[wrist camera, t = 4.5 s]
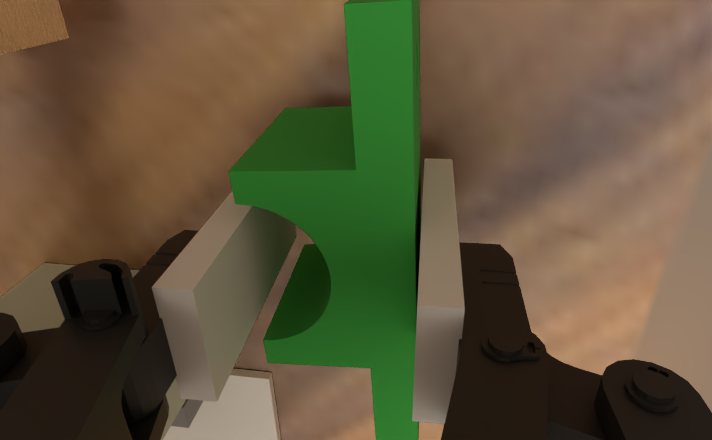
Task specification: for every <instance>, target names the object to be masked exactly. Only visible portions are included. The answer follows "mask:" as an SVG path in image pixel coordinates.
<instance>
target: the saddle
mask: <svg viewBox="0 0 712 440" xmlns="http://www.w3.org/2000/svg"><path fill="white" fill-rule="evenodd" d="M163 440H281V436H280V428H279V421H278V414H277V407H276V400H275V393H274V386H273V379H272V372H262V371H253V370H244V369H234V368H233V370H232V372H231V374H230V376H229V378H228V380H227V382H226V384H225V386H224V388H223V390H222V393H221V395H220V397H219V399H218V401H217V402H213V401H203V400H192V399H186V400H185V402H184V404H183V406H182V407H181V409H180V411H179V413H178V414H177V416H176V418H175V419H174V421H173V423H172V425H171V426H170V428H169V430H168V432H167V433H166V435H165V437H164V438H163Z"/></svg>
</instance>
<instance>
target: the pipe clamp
mask: <svg viewBox="0 0 712 440" xmlns="http://www.w3.org/2000/svg"><path fill="white" fill-rule="evenodd" d="M344 12H345V26H346V40H347V53H348V67H349V80H350V94H351V106H340V107H306V108H285V109H284V111H283V112H282V113H281V114H280V115H279V116H278V117H277V118H276V119H275V121H274V122H273V123H272V124H271V125H270V126H269V127H268V128H267V129H266V131H265V132H264V133H263V134H262V135H261V136H260V137H259V138H258V139H257V140H256V142H255V143H254V144H253V145H252V146H251V147H250V148H249V149H248V150H247V152H246V153H245V154H244V155H243V156H242V157H241V158H240V159H239V160H238V162H237V163H236V164H235V165H234V166H233V167H232V168H231V169H230V170H229V176H230V181H231V186H232V191H233V196H234V201H235V204H237V205H249V206H255V207H259V208H263V209H266V210H269V211H272V212H274V213H276V214H278V215H281V216H283V217H284V218H286V219H288V220H290V221H291V222H293V223H294V224H295V225H297V226H298V227H299V228H301V229H302V230H303V231H304V232H305V233H306V234H307V235H308V236H309V237H310V238H311V239H312V240H313V241H314V243H315V244H308V245H304V247H303V249H302V252H301V254H300V256H299V258H298V261H297V263H296V265H295V268H294V270H293V272H292V275H291V277H290V279H289V282H288V284H287V286H286V289H285V291H284V293H283V296H282V298H281V300H280V302H279V305H278V307H277V309H276V312H275V314H274V316H273V319H272V321H271V323H270V326H269V328H268V330H267V333H266V335H265V337H264V339H263V342H264V347H265V352H266V357H267V361H268V363H280V364H300V365H319V366H338V367H358V368H371V379H372V393H373V407H374V420H375V434H376V440H418V437H419V422H417V421H412V413H413V391H414V368H415V346H416V324H417V302H418V282H419V261H420V241H421V159H420V20H419V0H349V1H348V2H346V3H345V4H344Z"/></svg>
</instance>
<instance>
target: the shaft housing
mask: <svg viewBox="0 0 712 440" xmlns="http://www.w3.org/2000/svg"><path fill="white" fill-rule="evenodd" d="M73 266H76V265H66V264H53V263H43V264H42V265H40V266H39V267H38V268H37V269H35V270H34V271H33V272H31V273H30V274H29V275H28V276H26V277H25V278H24V279H22V280H21V281H20V282H19V283H17V284H16V285H15V286H13V287H12V288H11V289H10V290H8V291H7V292H6V293H5V294H3V295H2V296H1V297H0V313H6V314H9V315H13V316H14V318H15V319H16V321H17V323H18V325H19V327H20V330H21V332H22V333H23V332H30V331H37V330H44V329H51V328H58V327H60V325H61V324H62V323H63V321H64V320H65V319H64V316H63V313H62V311H61V308H60V305H59V303H58V300H57V297H56V295H55V292H54V290H53V287H52V284H51V281H52V280H53V279H54V278H55V277H57V276H58V275H59V274H60V273H62V272H64V271H66V270H67V269H69V268H71V267H73ZM139 271H140V270H131V274H132V277H134V276H135V275H136V274H137V273H138V272H139ZM166 397H167V401H168V404H169V415H168V419H167V422H166V425H165V428H164V431H163V434H162V437H161V440H163V438H164V437H165V435H166V433H167V432H168V430H169V428H170V426H171V425H172V423H173V421H174V419H175V418H176V416H177V414H178V413H179V411H180V409H181V407H182V406H183V404H184V402H185V400H186V399H182V398H181V397H180V393H179V389H178V385H177V381H176V378H175V379H174V381H173V383H172V384H171V386H170V388H169V389H168V391H167V393H166Z"/></svg>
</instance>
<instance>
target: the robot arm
mask: <svg viewBox="0 0 712 440" xmlns="http://www.w3.org/2000/svg"><path fill="white" fill-rule="evenodd" d="M295 238H296V228H295V224H294V223H293V222H291V221H290V220H288V219H286V218H284V217H283V216H281V215H278V214H276V213H274V212H272V211H269V210H266V209H263V208H259V207H255V206H249V205H237V204H235V201H234V196H233V191H232V192H231V193H230V194H229V195H228V197H227V198H226V199H225V200H224V201H223V203H222V204H221V205H220V206H219V207H218V209H217V210H216V211H215V212H214V213H213V215H212V216H211V217H210V218H209V219H208V221H207V222H206V223H205V224H204V225H203V227H202V228H201V229H200V230H199V231H193V230H184V231H182V232H181V233H179V234H177V235H176V236H174V237H172V238H170V239H169V240H167V241H166V242H165V243H164V244H163V245H162V247H161V248H160V249H159V250H158V251H157V252H156V255H153V256H152V257H151V259H150V260H149V261H148V262H147V265H146V266H143V267H142V268H141V269H140V271H139V272H138V273H137V274H136V275H135V276H134V277H132V274H131V270H130V268H129V267H128V265H127V264H126V263H124V262H121V261H119V260H111V259H101V260H94V261H88V262H85V263H82V264H79V265H76V266H73V267H71V268H69V269H67V270H66V271H64V272H62V273H60V274H59V275H58V276H57V277H55V278H54V279H53V280H52V281H51V284H52V287H53V290H54V292H55V295H56V297H57V300H58V303H59V305H60V308H61V311H62V313H63V316H64V319H65V320H64V321H63V323H62V324H61V325H60V327H58V328H51V329H44V330H37V331H30V332H23V333H22V332H21V330H20V327H19V325H18V323H17V321H16V319H15V318H14V316H13V315H9V314H6V313H0V440H161V437H162V434H163V431H164V428H165V425H166V422H167V419H168V415H169V404H168V401H167V397H166V393H167V391H168V389H169V388H170V386H171V384H172V383H173V381H174V379H175V378H176V381H177V385H178V389H179V393H180V397H181V398H182V399H192V400H203V401H213V402H217V401H218V399H219V397H220V395H221V393H222V390H223V388H224V386H225V384H226V382H227V380H228V378H229V376H230V374H231V372H232V370H233V367H234V365H235V363H236V361H237V359H238V357H239V355H240V353H241V351H242V349H243V347H244V345H245V342H246V340H247V338H248V336H249V334H250V332H251V330H252V328H253V326H254V324H255V322H256V319H257V317H258V315H259V313H260V311H261V309H262V307H263V305H264V303H265V301H266V299H267V297H268V294H269V292H270V290H271V288H272V286H273V284H274V282H275V280H276V278H277V276H278V274H279V271H280V269H281V267H282V265H283V263H284V261H285V259H286V257H287V255H288V253H289V251H290V249H291V246H292V244H293V242H294V240H295ZM412 421H417V422H427V423H437V424H444V429H443V433H442V437H441V440H712V413H711V411H710V409H709V408H708V406H707V405H706V403H705V402H704V400H703V399H702V397H701V396H700V394H699V393H698V392H697V391H696V390H695V389H694V388H693V387H692V386H691V384H690V383H689V382H688V381H686V380H685V379H683V378H682V377H680V376H679V375H677V374H676V373H674V372H673V371H671V370H669V369H667V368H664V367H662V366H659V365H656V364H654V363H651V362H645V361H640V360H634V359H633V360H623V361H617V362H615V363H613V364H611V365H609V366H608V367H606V369H605V371H604V373H603V375H598V374H595V373H592V372H589V371H585V370H582V369H579V368H576V367H573V366H570V365H568V364H565V363H563V362H561V361H559V360H557V359H555V358H554V357H552V356H550V355H549V354H548V353H547V351H546V348H545V345H544V344H543V343H542V342H541V340H540V339H539V338H538V337H537V336H536V335H535V334H533V333H532V332H531V329H530V325H529V321H528V317H527V313H526V309H525V305H524V301H523V298H522V294H521V290H520V287H519V282H518V278H517V275H516V270H515V266H514V262H513V258H512V257H511V256H510V254H509V253H508V252H507V251H506V250H505V249H504V248H503V247H502V246H501V245H498V244H478V243H459V233H458V221H457V209H456V197H455V185H454V173H453V161H452V159H430V158H425V160H424V180H423V200H422V221H421V241H420V261H419V282H418V302H417V324H416V346H415V368H414V391H413V413H412Z"/></svg>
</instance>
